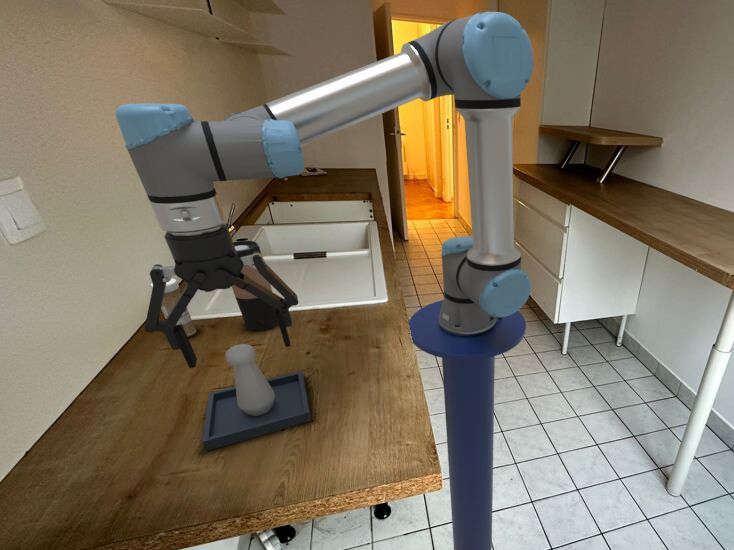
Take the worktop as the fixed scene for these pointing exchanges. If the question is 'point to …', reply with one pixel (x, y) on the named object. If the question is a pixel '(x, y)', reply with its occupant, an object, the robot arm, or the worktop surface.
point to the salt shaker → (249, 381)
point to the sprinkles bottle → (169, 301)
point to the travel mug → (252, 307)
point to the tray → (236, 425)
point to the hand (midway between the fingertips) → (242, 352)
